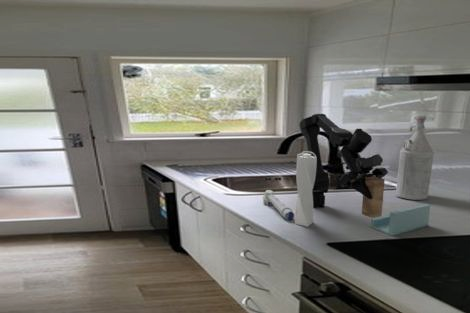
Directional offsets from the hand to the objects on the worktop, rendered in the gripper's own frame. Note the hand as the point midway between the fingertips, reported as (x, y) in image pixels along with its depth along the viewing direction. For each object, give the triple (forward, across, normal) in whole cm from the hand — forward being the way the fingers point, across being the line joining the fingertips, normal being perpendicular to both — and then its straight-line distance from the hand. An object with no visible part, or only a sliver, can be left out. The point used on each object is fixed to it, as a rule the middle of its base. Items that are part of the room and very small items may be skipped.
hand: (376, 197), depth 111 cm
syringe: (-16, -15, +36) cm, 42 cm away
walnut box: (+4, 0, +6) cm, 7 cm away
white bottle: (-7, +55, +27) cm, 62 cm away
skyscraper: (-4, -14, +24) cm, 28 cm away
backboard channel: (+9, +15, +10) cm, 20 cm away
